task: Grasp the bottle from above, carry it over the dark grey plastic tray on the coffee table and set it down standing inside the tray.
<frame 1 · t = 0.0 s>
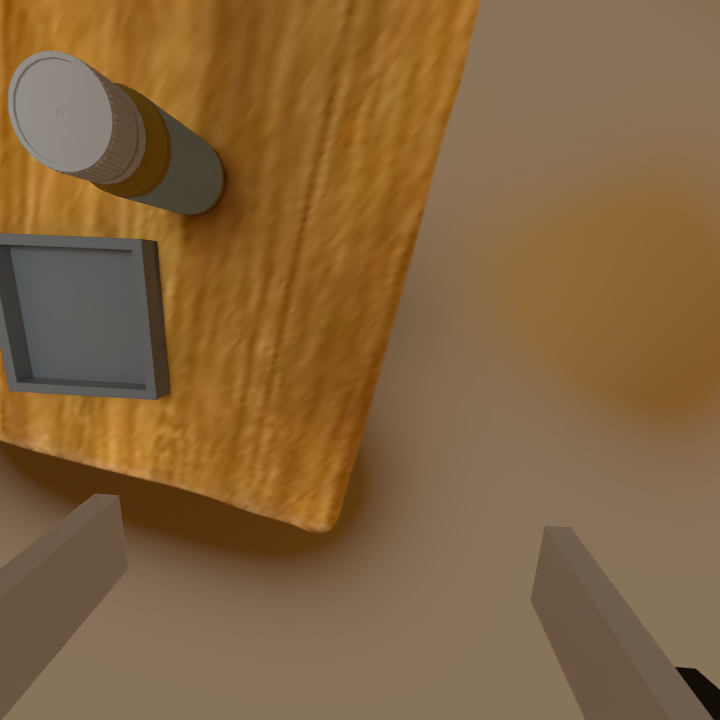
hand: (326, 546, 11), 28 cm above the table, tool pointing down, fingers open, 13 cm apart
bottle: (192, 178, 35), on the table
tray: (90, 316, 39), on the table
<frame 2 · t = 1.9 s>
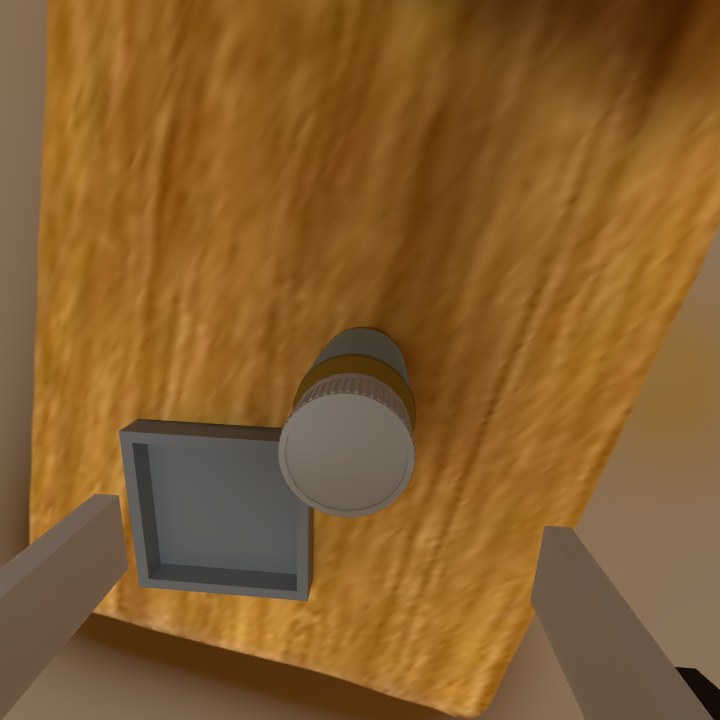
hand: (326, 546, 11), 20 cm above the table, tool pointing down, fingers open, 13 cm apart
bottle: (362, 366, 31), on the table
tray: (229, 502, 35), on the table
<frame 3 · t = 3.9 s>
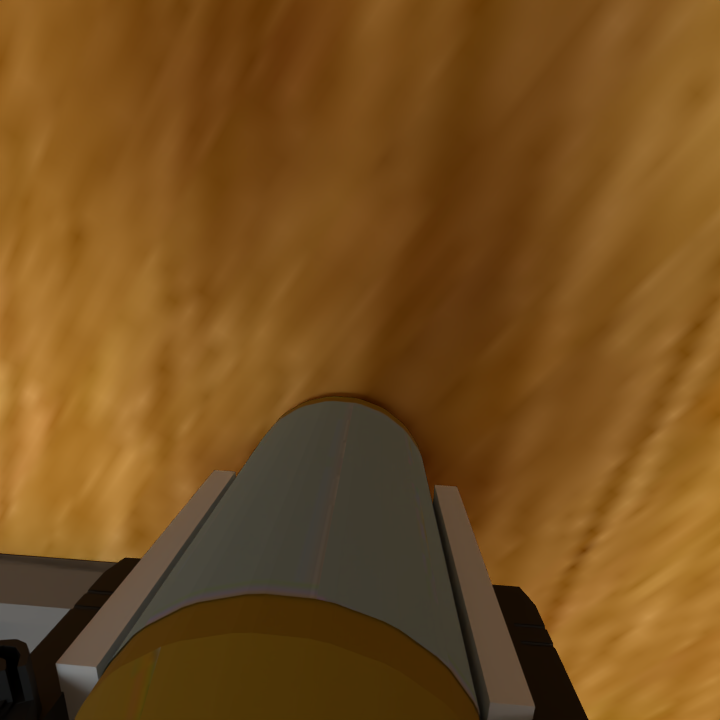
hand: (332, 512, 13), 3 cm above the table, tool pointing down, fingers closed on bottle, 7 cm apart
bottle: (341, 464, 16), on the table, touching gripper
tray: (112, 684, 20), on the table
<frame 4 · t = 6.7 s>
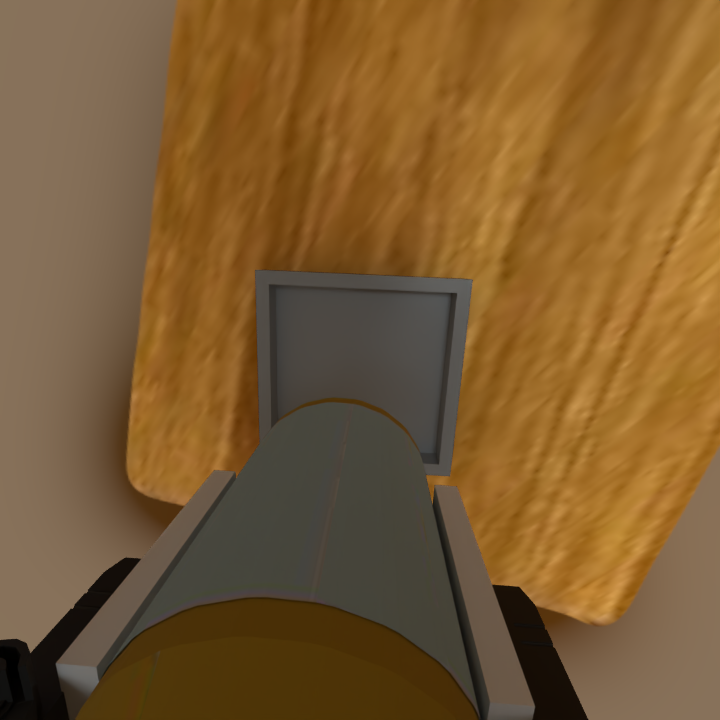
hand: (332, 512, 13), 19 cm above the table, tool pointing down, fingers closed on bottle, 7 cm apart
bottle: (341, 465, 16), point 16 cm above the table, touching gripper
tray: (359, 370, 31), on the table
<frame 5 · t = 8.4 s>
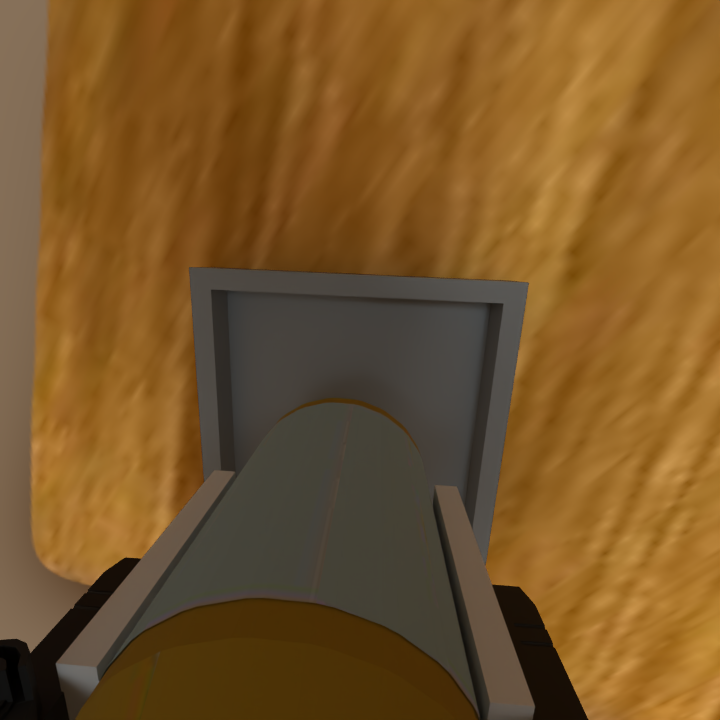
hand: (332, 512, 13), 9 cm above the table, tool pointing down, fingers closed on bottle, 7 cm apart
bottle: (341, 466, 16), point 6 cm above the table, touching gripper
tray: (353, 413, 22), on the table
when the fingers open (4 cm above the table, at t = 9.7 s): bottle stays where it is, resting on tray.
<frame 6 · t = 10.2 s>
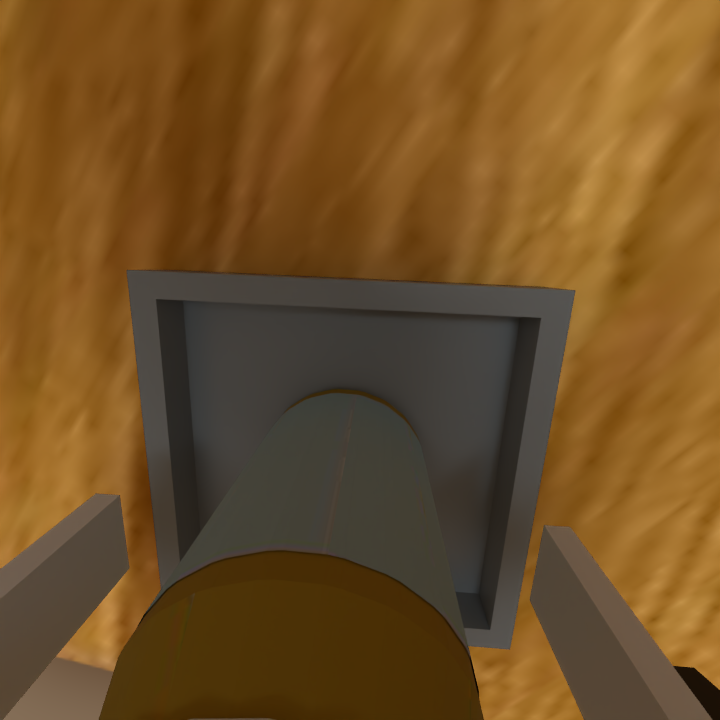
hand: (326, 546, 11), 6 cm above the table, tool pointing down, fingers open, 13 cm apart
bottle: (345, 454, 17), resting on tray
tray: (344, 450, 17), on the table
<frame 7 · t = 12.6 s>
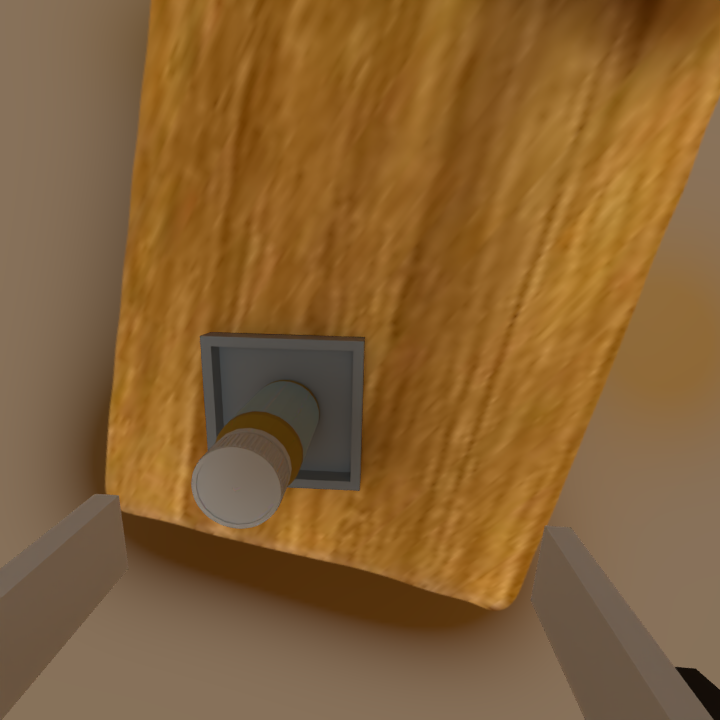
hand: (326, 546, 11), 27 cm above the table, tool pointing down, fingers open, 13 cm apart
bottle: (288, 409, 39), resting on tray
tray: (288, 407, 40), on the table
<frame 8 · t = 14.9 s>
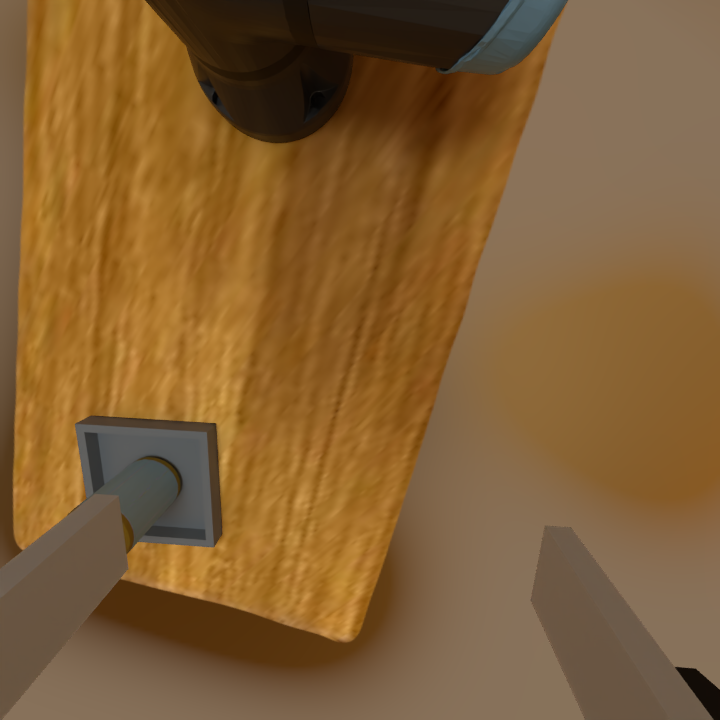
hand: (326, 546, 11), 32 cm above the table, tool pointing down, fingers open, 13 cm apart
bottle: (157, 478, 47), resting on tray
tray: (158, 476, 48), on the table
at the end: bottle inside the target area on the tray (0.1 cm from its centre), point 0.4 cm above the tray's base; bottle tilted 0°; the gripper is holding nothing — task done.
